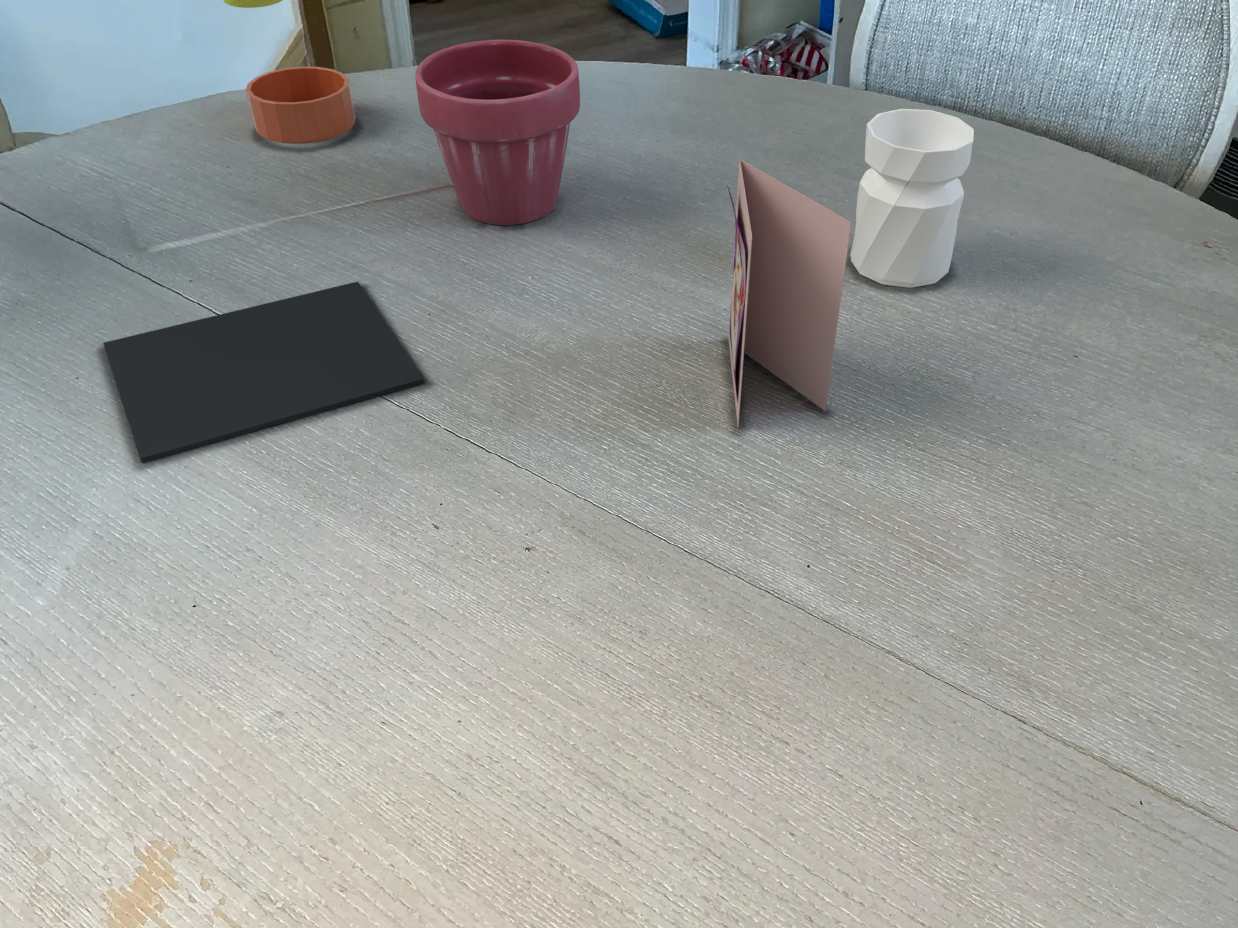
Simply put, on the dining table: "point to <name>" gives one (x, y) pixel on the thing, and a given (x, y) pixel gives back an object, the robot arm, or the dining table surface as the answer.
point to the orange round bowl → (301, 104)
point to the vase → (910, 196)
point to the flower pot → (501, 124)
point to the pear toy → (251, 3)
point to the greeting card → (785, 284)
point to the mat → (255, 369)
